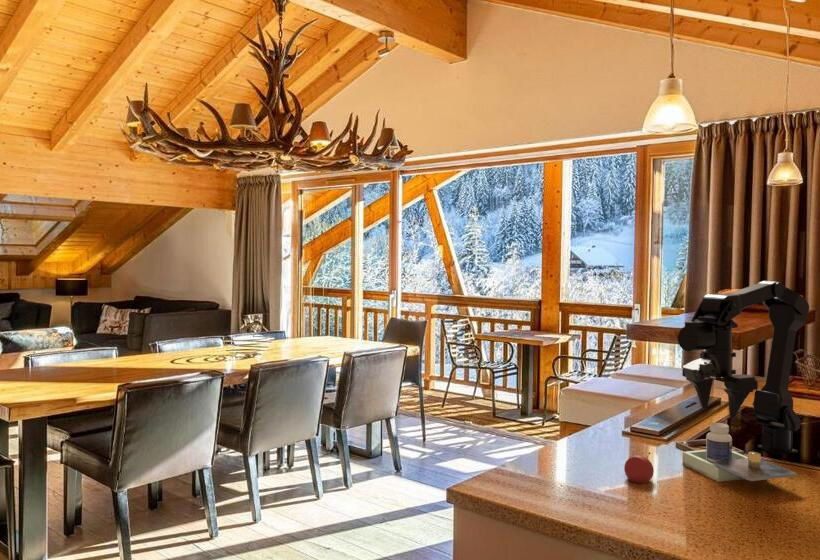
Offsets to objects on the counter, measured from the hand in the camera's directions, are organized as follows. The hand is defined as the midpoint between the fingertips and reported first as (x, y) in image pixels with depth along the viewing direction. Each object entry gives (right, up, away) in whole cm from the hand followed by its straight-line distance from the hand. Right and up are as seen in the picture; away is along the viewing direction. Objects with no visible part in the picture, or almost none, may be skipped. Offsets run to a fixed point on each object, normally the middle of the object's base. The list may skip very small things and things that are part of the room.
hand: (718, 412), depth 155 cm
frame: (+2, -12, +9) cm, 15 cm away
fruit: (-22, -13, -10) cm, 27 cm away
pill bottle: (-2, -12, -4) cm, 13 cm away
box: (-1, -12, -5) cm, 13 cm away
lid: (+1, -10, -14) cm, 17 cm away
